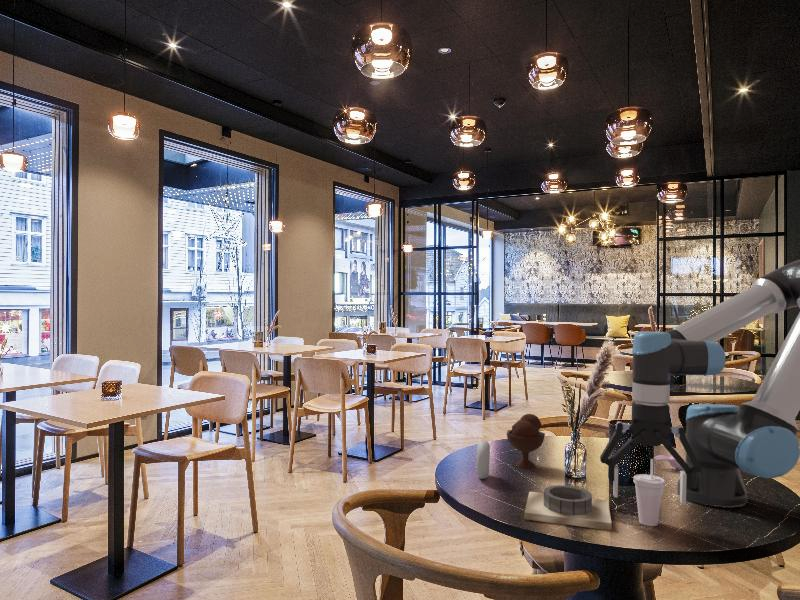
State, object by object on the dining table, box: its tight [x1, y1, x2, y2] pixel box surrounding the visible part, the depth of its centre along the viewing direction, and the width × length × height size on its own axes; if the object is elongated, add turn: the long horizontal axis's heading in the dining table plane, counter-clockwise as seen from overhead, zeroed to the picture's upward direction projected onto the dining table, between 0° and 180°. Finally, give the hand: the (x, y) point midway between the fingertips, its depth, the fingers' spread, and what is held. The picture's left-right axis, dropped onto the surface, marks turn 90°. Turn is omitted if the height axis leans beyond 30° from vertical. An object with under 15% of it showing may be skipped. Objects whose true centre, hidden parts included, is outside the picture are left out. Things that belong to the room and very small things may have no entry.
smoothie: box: [632, 458, 666, 527], centre depth 124 cm, size 6×6×14 cm
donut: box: [475, 440, 491, 480], centre depth 152 cm, size 10×3×10 cm, turn 171°
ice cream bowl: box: [506, 413, 546, 470], centre depth 164 cm, size 11×11×15 cm
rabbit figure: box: [653, 453, 686, 471], centre depth 162 cm, size 6×6×15 cm
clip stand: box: [524, 484, 612, 531], centre depth 129 cm, size 18×14×4 cm
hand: (648, 499), depth 124 cm, fingers open, 13 cm apart
